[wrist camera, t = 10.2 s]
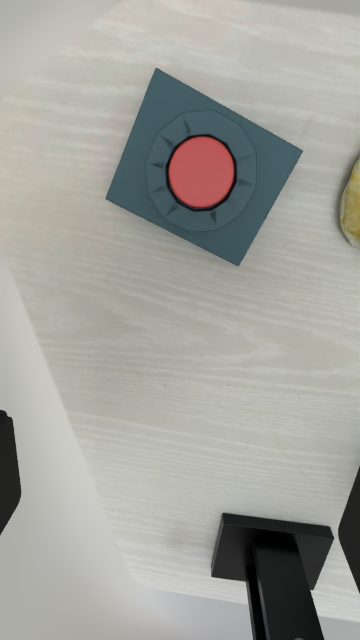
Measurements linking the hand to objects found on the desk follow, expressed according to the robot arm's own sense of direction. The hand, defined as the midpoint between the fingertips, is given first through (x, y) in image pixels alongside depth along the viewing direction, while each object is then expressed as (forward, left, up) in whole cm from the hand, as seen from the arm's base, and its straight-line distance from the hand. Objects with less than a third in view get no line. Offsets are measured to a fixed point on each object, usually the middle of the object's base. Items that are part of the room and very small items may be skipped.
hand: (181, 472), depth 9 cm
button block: (-3, +7, -19) cm, 20 cm away
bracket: (+20, -22, -19) cm, 35 cm away
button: (-3, +7, -15) cm, 17 cm away
